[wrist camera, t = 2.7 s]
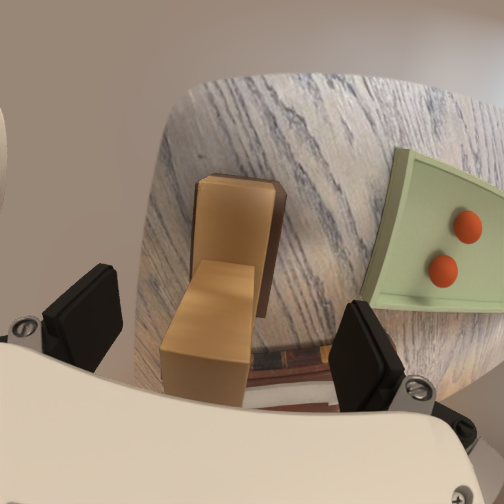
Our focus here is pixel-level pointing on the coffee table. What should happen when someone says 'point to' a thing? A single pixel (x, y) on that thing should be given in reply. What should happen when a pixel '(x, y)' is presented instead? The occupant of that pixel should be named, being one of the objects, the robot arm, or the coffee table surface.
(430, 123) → the coffee table surface
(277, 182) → the stand
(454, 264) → the orange-red sphere
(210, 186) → the wooden block
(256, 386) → the book
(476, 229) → the orange ball
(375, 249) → the tray
